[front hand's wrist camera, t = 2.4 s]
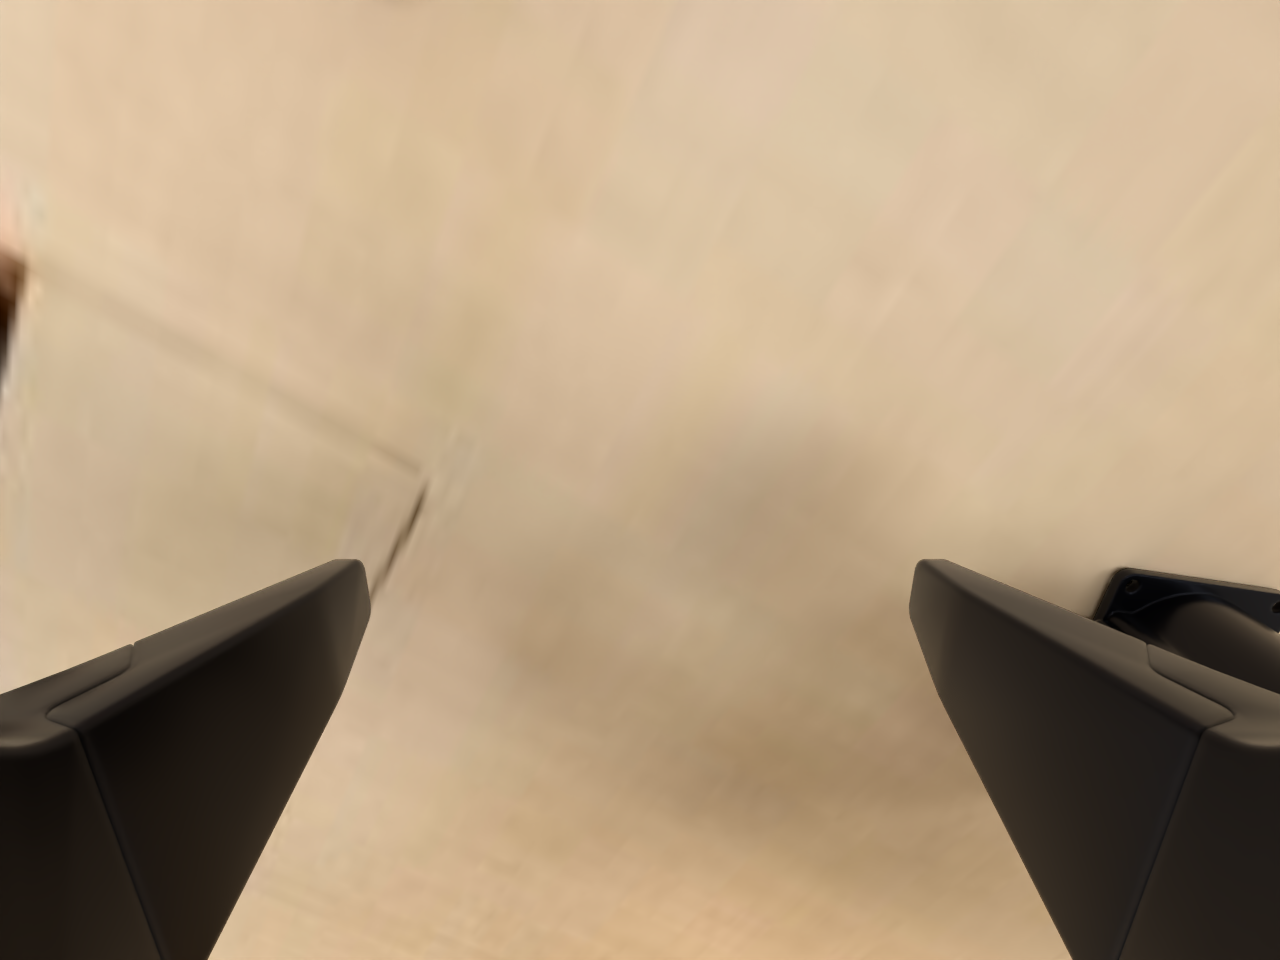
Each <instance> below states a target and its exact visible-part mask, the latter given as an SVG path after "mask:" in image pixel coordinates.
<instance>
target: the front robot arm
mask: <svg viewBox="0 0 1280 960" xmlns="http://www.w3.org/2000/svg"><path fill="white" fill-rule="evenodd" d="M1132 580H1133V581H1132ZM1130 581H1132V583H1131V584H1130V585H1128V586H1127V587H1126V585H1127V583H1128V582H1130ZM1275 603H1276V604H1275ZM1274 604H1275V605H1274ZM1273 605H1274V606H1273ZM370 613H371V603H370V597H369V591H368V585H367V578H366V572H365V568H364V565H363V563H362V562H361V561H360V560H357V559H336V560H332V561H330V562H328V563H325V564H323V565H320V566H318V567H315V568H313V569H311V570H308V571H306V572H303V573H301V574H299V575H296V576H294V577H291V578H289V579H286V580H284V581H282V582H279V583H277V584H274V585H272V586H270V587H267V588H265V589H262V590H260V591H257V592H255V593H253V594H250V595H248V596H245V597H243V598H240V599H238V600H236V601H233V602H231V603H228V604H226V605H224V606H221V607H219V608H216V609H214V610H211V611H209V612H207V613H204V614H202V615H199V616H197V617H195V618H192V619H190V620H187V621H185V622H182V623H180V624H178V625H175V626H173V627H170V628H168V629H165V630H163V631H161V632H158V633H156V634H153V635H151V636H149V637H146V638H144V639H141V640H139V641H136V642H135V643H134V646H133V645H131V644H130V645H127V646H124V647H122V648H119V649H117V650H114V651H112V652H110V653H107V654H105V655H102V656H100V657H97V658H95V659H92V660H90V661H87V662H85V663H82V664H80V665H77V666H75V667H72V668H70V669H67V670H65V671H62V672H59V673H57V674H54V675H51V676H49V677H46V678H43V679H41V680H38V681H35V682H33V683H30V684H28V685H25V686H22V687H20V688H17V689H14V690H11V691H9V692H6V693H3V694H0V960H208V958H209V956H210V954H211V952H212V950H213V948H214V946H215V944H216V942H217V940H218V938H219V936H220V934H221V932H222V930H223V928H224V926H225V924H226V922H227V920H228V918H229V916H230V914H231V912H232V910H233V908H234V906H235V904H236V902H237V900H238V898H239V897H240V895H241V893H242V891H243V889H244V887H245V885H246V883H247V881H248V879H249V877H250V875H251V873H252V871H253V869H254V867H255V865H256V863H257V861H258V859H259V857H260V855H261V853H262V851H263V849H264V847H265V845H266V843H267V841H268V839H269V837H270V835H271V833H272V831H273V830H274V828H275V826H276V824H277V822H278V820H279V818H280V816H281V814H282V812H283V810H284V808H285V806H286V804H287V802H288V800H289V798H290V796H291V794H292V792H293V790H294V788H295V786H296V784H297V782H298V780H299V778H300V776H301V774H302V772H303V770H304V768H305V766H306V764H307V763H308V761H309V759H310V757H311V755H312V753H313V751H314V749H315V747H316V745H317V743H318V741H319V739H320V737H321V735H322V733H323V731H324V729H325V727H326V725H327V723H328V721H329V719H330V717H331V715H332V713H333V711H334V709H335V707H336V705H337V703H338V701H339V699H340V697H341V695H342V692H343V690H344V687H345V685H346V682H347V679H348V677H349V674H350V671H351V668H352V666H353V663H354V660H355V657H356V655H357V652H358V649H359V646H360V644H361V641H362V638H363V635H364V633H365V630H366V627H367V624H368V622H369V618H370ZM909 613H910V618H911V622H912V624H913V627H914V630H915V633H916V635H917V638H918V641H919V644H920V646H921V649H922V652H923V655H924V657H925V660H926V663H927V666H928V668H929V671H930V674H931V677H932V679H933V682H934V685H935V687H936V690H937V692H938V695H939V697H940V699H941V701H942V703H943V705H944V707H945V709H946V711H947V713H948V715H949V717H950V719H951V721H952V723H953V725H954V727H955V729H956V731H957V733H958V735H959V737H960V739H961V741H962V743H963V745H964V747H965V749H966V751H967V753H968V755H969V757H970V759H971V761H972V763H973V765H974V766H975V768H976V770H977V772H978V774H979V776H980V778H981V780H982V782H983V784H984V786H985V788H986V790H987V792H988V794H989V796H990V798H991V800H992V802H993V804H994V806H995V808H996V810H997V812H998V814H999V816H1000V818H1001V820H1002V822H1003V824H1004V826H1005V828H1006V830H1007V832H1008V833H1009V835H1010V837H1011V839H1012V841H1013V843H1014V845H1015V847H1016V849H1017V851H1018V853H1019V855H1020V857H1021V859H1022V861H1023V863H1024V865H1025V867H1026V869H1027V871H1028V873H1029V875H1030V877H1031V879H1032V881H1033V883H1034V885H1035V887H1036V889H1037V891H1038V893H1039V895H1040V897H1041V899H1042V901H1043V902H1044V904H1045V906H1046V908H1047V910H1048V912H1049V914H1050V916H1051V918H1052V920H1053V922H1054V924H1055V926H1056V928H1057V930H1058V932H1059V934H1060V936H1061V938H1062V940H1063V942H1064V944H1065V946H1066V948H1067V950H1068V952H1069V954H1070V956H1071V958H1072V960H1280V634H1279V632H1280V591H1279V590H1277V589H1270V588H1263V587H1256V586H1249V585H1242V584H1235V583H1228V582H1222V581H1215V580H1208V579H1201V578H1194V577H1187V576H1180V575H1173V574H1166V573H1160V572H1153V571H1146V570H1139V569H1132V568H1128V569H1123V570H1120V571H1119V572H1118V573H1116V574H1115V575H1114V577H1113V578H1112V580H1111V582H1110V584H1109V587H1108V589H1107V591H1106V593H1105V595H1104V598H1103V600H1102V602H1101V604H1100V606H1099V608H1098V611H1097V613H1096V615H1095V617H1094V619H1093V620H1090V619H1088V618H1085V617H1083V616H1081V615H1078V614H1076V613H1073V612H1071V611H1069V610H1066V609H1064V608H1061V607H1059V606H1056V605H1054V604H1052V603H1049V602H1047V601H1044V600H1042V599H1040V598H1037V597H1035V596H1032V595H1030V594H1027V593H1025V592H1023V591H1020V590H1018V589H1015V588H1013V587H1010V586H1008V585H1006V584H1003V583H1001V582H998V581H996V580H994V579H991V578H989V577H986V576H984V575H981V574H979V573H977V572H974V571H972V570H969V569H967V568H965V567H962V566H960V565H957V564H955V563H952V562H950V561H948V560H944V559H923V560H920V561H919V562H918V563H917V565H916V568H915V572H914V578H913V585H912V591H911V597H910V603H909Z"/></svg>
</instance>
